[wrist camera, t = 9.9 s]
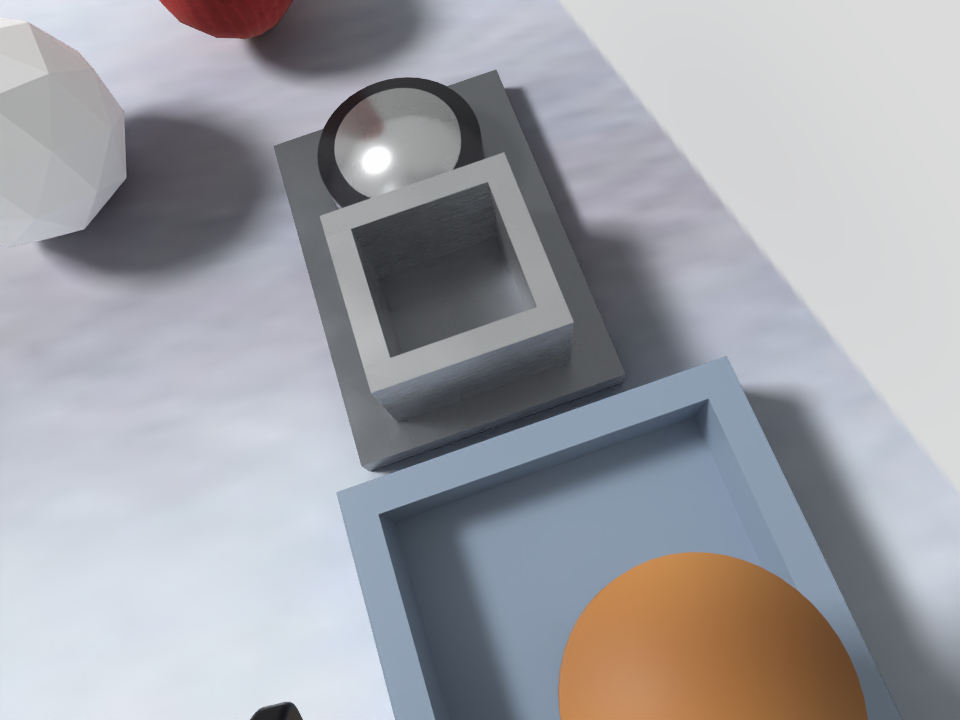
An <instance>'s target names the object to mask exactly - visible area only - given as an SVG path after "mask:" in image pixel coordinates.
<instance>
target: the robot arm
mask: <svg viewBox="0 0 960 720" xmlns="http://www.w3.org/2000/svg"><path fill="white" fill-rule="evenodd" d="M250 720H303V719H302V717H301V715H300V713H299V711H298V709H297V708H296V706H295V705H294V704H293V703H291V702H283V703H279V704H275V705H270V706H266V707H263V708H261V709H259V710H258V711H257V712H256V713H255V714H254V715H253V716H252V718H251V719H250Z"/></svg>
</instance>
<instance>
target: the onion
mask: <svg viewBox="0 0 960 720" xmlns="http://www.w3.org/2000/svg"><path fill="white" fill-rule="evenodd" d="M159 1H160V2H161V3H162V4H163V5H164V6H165V7H166V8H167V9H168V10H169V11H170V12H171V13H172V14H173V15H174V16H175V17H176V18H177V19H178V20H179V21H180V22H181V23H183V24H186V25H188V26H190V27H192V28H195V29H197V30H200V31H202V32H204V33H207V34H209V35H211V36H214V37H216V38H240V39H247V38H251V37H255V36H259V35H262V34H263V33H265V32H266V31H268V30H269V29H271V28H273V27H274V26H276V24H277V23H278V22H279V20H280V19H281V18H282V17H283V15H284V14H285V13H286V11H287V10H288V8H289V6H290V5H291V3H292V2H293V0H159Z"/></svg>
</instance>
